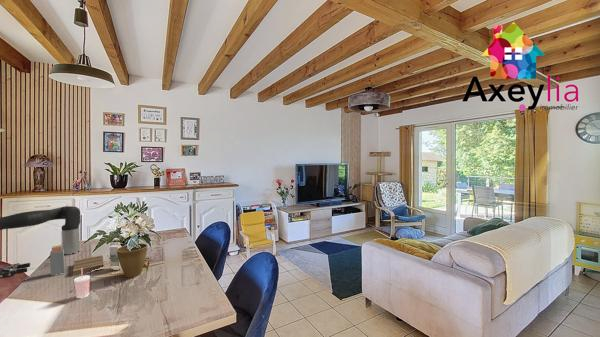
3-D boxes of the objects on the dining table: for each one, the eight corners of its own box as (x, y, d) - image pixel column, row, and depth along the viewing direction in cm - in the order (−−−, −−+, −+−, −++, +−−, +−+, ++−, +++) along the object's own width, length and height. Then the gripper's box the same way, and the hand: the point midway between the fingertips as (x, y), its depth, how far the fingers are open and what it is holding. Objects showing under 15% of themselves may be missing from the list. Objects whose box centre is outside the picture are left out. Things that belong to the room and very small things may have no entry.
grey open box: (52, 273, 152) (51, 251, 152) (65, 270, 156) (64, 248, 155) (50, 276, 148) (49, 253, 148) (64, 273, 152) (63, 251, 151)
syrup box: (126, 266, 161) (125, 243, 161) (118, 270, 155) (118, 246, 155) (117, 266, 162) (117, 243, 161) (110, 270, 156) (109, 246, 155)
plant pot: (154, 270, 155) (153, 244, 154) (132, 282, 141) (131, 253, 140) (134, 268, 159) (133, 242, 158) (110, 279, 145) (109, 250, 144)
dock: (74, 265, 164) (74, 260, 164) (102, 259, 173) (102, 254, 173) (73, 276, 149) (72, 270, 148) (103, 269, 157) (103, 264, 157)
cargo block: (52, 253, 152) (52, 246, 152) (62, 251, 154) (61, 244, 154) (52, 255, 149) (51, 248, 149) (61, 253, 151) (61, 246, 151)
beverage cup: (77, 294, 128) (76, 266, 128) (93, 292, 131) (92, 264, 130) (72, 300, 123) (70, 271, 122) (88, 298, 125) (86, 269, 124)
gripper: (-22, 273, 129) (25, 264, 139) (-13, 264, 140) (30, 256, 150) (-21, 288, 129) (26, 278, 139) (-12, 277, 140) (31, 269, 150)
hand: (28, 267), depth 144 cm, fingers open, 8 cm apart
